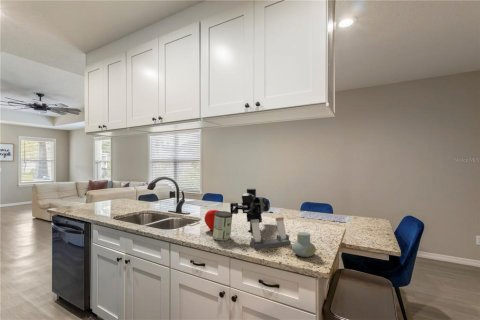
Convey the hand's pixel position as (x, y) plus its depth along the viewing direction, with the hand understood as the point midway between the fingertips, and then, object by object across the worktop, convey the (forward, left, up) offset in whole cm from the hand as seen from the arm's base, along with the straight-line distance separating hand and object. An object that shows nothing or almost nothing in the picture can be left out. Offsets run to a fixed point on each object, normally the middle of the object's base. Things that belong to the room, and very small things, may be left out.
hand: (240, 211), depth 130 cm
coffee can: (-3, -14, -17) cm, 22 cm away
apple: (-16, -27, -17) cm, 36 cm away
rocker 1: (+2, +10, -14) cm, 17 cm away
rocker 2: (-9, +21, -14) cm, 27 cm away
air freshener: (+3, +34, -17) cm, 38 cm away
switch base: (-4, +16, -17) cm, 23 cm away
